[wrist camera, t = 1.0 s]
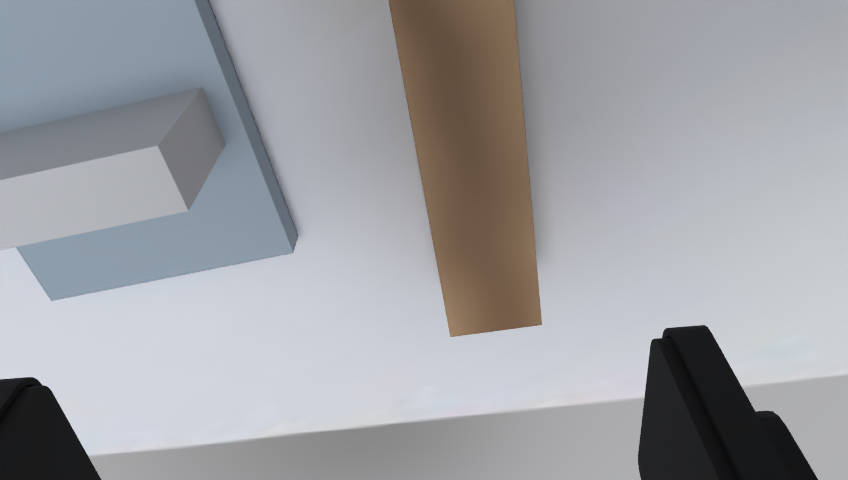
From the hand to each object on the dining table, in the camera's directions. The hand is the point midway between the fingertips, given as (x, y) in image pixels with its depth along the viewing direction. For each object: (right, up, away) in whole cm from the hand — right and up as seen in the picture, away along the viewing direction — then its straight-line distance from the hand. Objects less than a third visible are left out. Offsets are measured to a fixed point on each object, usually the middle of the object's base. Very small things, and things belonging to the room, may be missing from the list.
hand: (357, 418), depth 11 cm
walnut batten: (+2, +11, +17) cm, 20 cm away
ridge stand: (-12, +8, +18) cm, 23 cm away
